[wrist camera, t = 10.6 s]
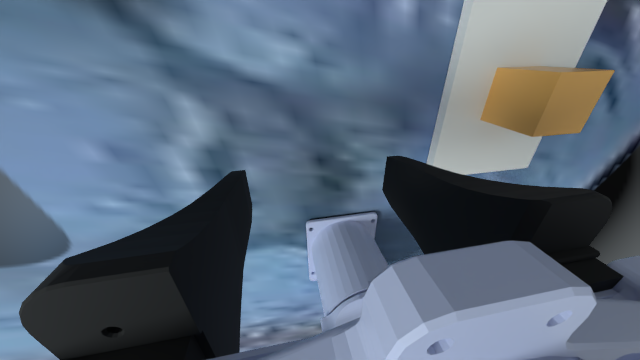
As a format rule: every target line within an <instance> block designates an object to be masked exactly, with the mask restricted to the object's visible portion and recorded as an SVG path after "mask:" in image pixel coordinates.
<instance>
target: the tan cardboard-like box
mask: <svg viewBox="0 0 640 360" xmlns="http://www.w3.org/2000/svg"><path fill="white" fill-rule="evenodd" d="M614 71H615V70H603V69H585V68H566V67H548V66H531V67H502V68H497V70H496V73H495V76H494V79H493V82H492V85H491V88H490V91H489V94H488V97H487V100H486V103H485V107H484V110H483V113H482V116H481V119H480V120H482V121H485V122H488V123H491V124H494V125H497V126H500V127H503V128H506V129H509V130H512V131H515V132H518V133H522V134H525V135H528V136H531V137H538V136H549V135H560V134H571V133H580V132H581V130H582V128H583V126H584V125H585V123H586V121H587V119H588V117H589V116H590V114H591V112H592V110H593V109H594V107H595V105H596V103H597V101H598V100H599V98H600V96H601V94H602V92H603V91H604V89H605V87H606V85H607V83H608V82H609V80H610V78H611V76H612V74H613V73H614Z"/></svg>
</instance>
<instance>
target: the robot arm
mask: <svg viewBox="0 0 640 360" xmlns="http://www.w3.org/2000/svg"><path fill="white" fill-rule="evenodd" d="M382 190H383V192H384V194H385V196H386V198H387V200H388V202H389V204H390V205H391V207H392V208H393V210H394V211H395V212H396V214H397V215H398V217H399V218H400V219H401V221H402V222H403V223H404V225H405V226H406V227H407V229H408V230H409V231H410V233H411V234H412V235H413V237H414V238H415V240H416V241H417V243H418V244H419V246H420V248H421V250H422V251H423V253H424V255H418V256H413V257H410V258H407V259H404V260H401V261H398V262H396V263H393V264H391V265H389V266H388V264H387V262H386V260H385V258H384V257H383V255H382V253H381V251H380V249H379V247H378V246H377V244H376V242H375V240H374V239H375V231H376V224H377V214H376V213H375V212H369V213H362V214H354V215H346V216H339V217H331V218H324V219H316V220H310V221H308V222H307V223H306V232H307V248H308V265H309V278H310V280H311V281H316V280H317V281H318V286H319V291H320V296H321V301H322V306H323V311H324V316H325V317H324V318H321V326H322V331H323V333H320V334H318V335H315V336H313V337H311V338H307V339H302V340H297V341H292V342H288V343H283V344H278V345H273V346H269V347H264V348H259V349H254V350H249V351H245V352H240V353H239V345H240V317H241V298H242V282H243V269H244V261H245V256H246V250H247V245H248V240H249V234H250V229H251V223H252V202H251V197H250V192H249V187H248V182H247V177H246V172H245V170H242V171H232V172H230V173H229V174H228V175H227V176H225V177H224V178H223V179H222V180H221V181H220V182H218V183H217V184H216V185H215V186H214V187H212V188H211V189H210V190H209V191H207V192H206V193H205V194H203V195H202V196H201V197H199V198H198V199H197V200H195V201H194V202H193V203H191V204H190V205H188V206H187V207H185V208H183V209H182V210H180V211H178V212H177V213H175V214H173V215H171V216H170V217H168V218H166V219H164V220H162V221H160V222H158V223H156V224H154V225H152V226H150V227H148V228H146V229H143V230H141V231H139V232H137V233H134V234H132V235H130V236H127V237H125V238H122V239H120V240H117V241H115V242H112V243H109V244H107V245H104V246H101V247H98V248H95V249H92V250H89V251H87V252H84V253H81V254H78V255H75V256H72V257H69V258H66V259H65V260H63V262H62V263H61V264H60V265H59V266H58V267H57V268H56V269H55V270H54V271H53V272H52V273H51V274H50V275H49V276H48V277H47V278H46V279H45V280H44V281H43V282H42V283H41V284H40V285H39V286H38V287H37V288H36V289H35V290H34V291H33V292H32V293H31V294H30V295H29V296H28V297H27V298H26V299H25V300H24V301H23V302H22V305H21V308H20V311H19V315H20V319H21V323H22V325H23V327H24V328H25V329H26V330H27V331H28V333H29V334H30V335H31V336H33V337H34V338H35V339H36V340H37V341H38V342H40V343H41V344H42V345H43V346H44V347H46V348H47V349H48V350H49V351H50V352H51V353H53V354H54V355H55V356H56V357H57V358H59V359H60V360H640V256H633V257H628V258H623V259H618V260H614V261H612V262H610V263H609V264H607V265H606V264H604V263H602V262H601V261H599V260H598V259H596V257H598V256H599V255H600V253H599V251H597V250H595V249H594V248H592V247H590V246H589V245H590V243H591V242H592V241H593V240H594V238H595V237H596V236H597V234H598V233H599V232H600V230H601V229H602V228H603V226H604V225H605V224H606V222H607V220H608V219H609V217H610V215H611V212H612V203H611V201H610V199H609V198H608V197H606V196H604V195H602V194H600V193H597V192H595V191H593V190H588V189H582V188H559V187H540V186H529V185H519V184H511V183H504V182H497V181H491V180H485V179H480V178H475V177H471V176H466V175H462V174H458V173H455V172H451V171H448V170H444V169H441V168H438V167H435V166H432V165H429V164H426V163H423V162H419V161H416V160H413V159H410V158H407V157H402V156H390V157H387V160H386V168H385V175H384V182H383V189H382ZM372 219H373V220H372ZM371 220H372V221H371ZM310 228H312V229H310Z"/></svg>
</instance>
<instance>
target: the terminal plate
mask: <svg viewBox="0 0 640 360" xmlns="http://www.w3.org/2000/svg"><path fill="white" fill-rule="evenodd" d="M606 2H607V0H464V4H463V8H462V13H461V17H460V21H459V26H458V30H457V34H456V38H455V43H454V47H453V51H452V56H451V60H450V64H449V69H448V73H447V77H446V81H445V86H444V90H443V94H442V99H441V103H440V107H439V112H438V116H437V120H436V124H435V129H434V133H433V137H432V142H431V146H430V150H429V155H428V159H427V163H426V164H429V165H432V166H435V167H438V168H441V169H444V170H448V171H451V172H455V173H458V174H462V175H467V174H476V173H485V172H494V171H503V170H511V169H520V168H528V166H529V163H530V161H531V159H532V157H533V155H534V153H535V151H536V149H537V147H538V145H539V143H540V140H541V138H542V136H538V137H531V136H528V135H525V134H522V133H518V132H515V131H512V130H509V129H506V128H503V127H500V126H497V125H494V124H491V123H488V122H485V121H482V120H480V119H481V116H482V113H483V110H484V107H485V103H486V100H487V97H488V94H489V91H490V88H491V85H492V82H493V79H494V76H495V73H496V70H497V68H502V67H531V66H548V67H566V68H575V67H576V65H577V63H578V61H579V59H580V56H581V54H582V52H583V50H584V48H585V46H586V44H587V42H588V40H589V38H590V35H591V33H592V31H593V29H594V27H595V25H596V23H597V21H598V19H599V17H600V15H601V12H602V10H603V8H604V6H605V4H606Z"/></svg>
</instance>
